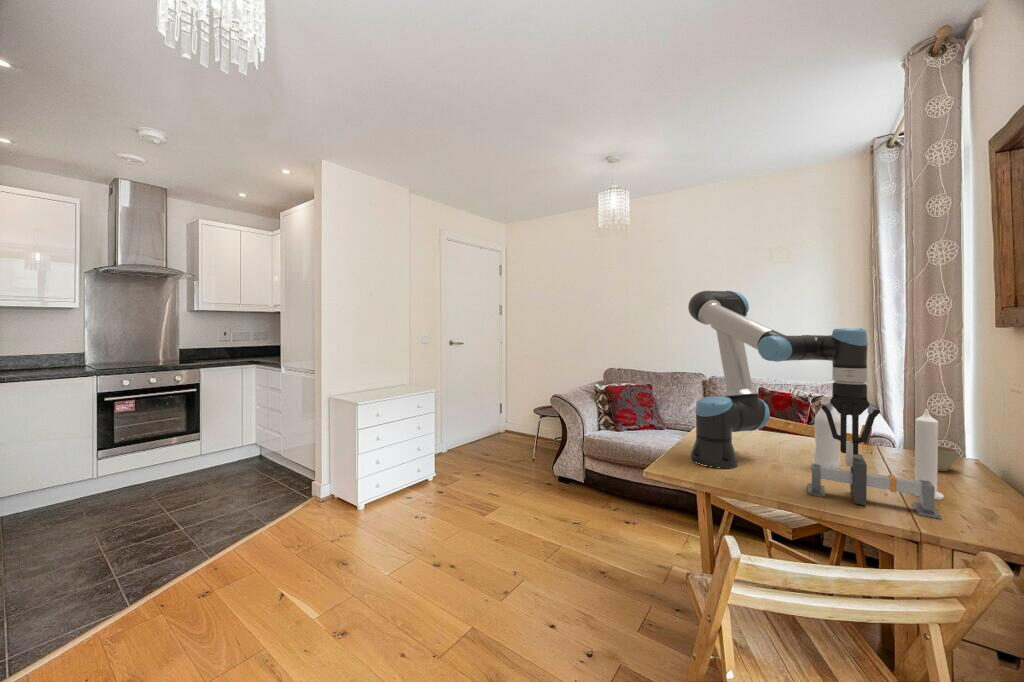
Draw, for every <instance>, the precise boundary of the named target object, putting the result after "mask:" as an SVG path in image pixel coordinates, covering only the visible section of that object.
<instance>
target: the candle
mask: <svg viewBox="0 0 1024 682" xmlns="http://www.w3.org/2000/svg"><path fill="white" fill-rule="evenodd" d="M914 427H915V429H914V430H915V431H914V432H915V435H914V436H915V437H914V440H915V442H914V480H918V481H919V480H925V481H930V482H931V484H932V485H933V486H934V487H935V489H934V500H937V501H938V500H943V499H944V496H945V495H944V494H943V493H941V492H938V471H937V465H938V446H939V421H938V420H937V419H935V418H934V417H932V416H931V414H930V411H929V409H928V408H925V410H924V412H923V414H922V415H921V416H919V417H917V418H915V426H914ZM912 495H914V496H916V497H919V495H916V494H912Z"/></svg>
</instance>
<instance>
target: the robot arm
mask: <svg viewBox="0 0 1024 682" xmlns="http://www.w3.org/2000/svg"><path fill="white" fill-rule="evenodd" d="M749 307H750V306H749V302H748V299H747V298H746V296H745V295H744V294H742V293H741V292H738V291H732V290H702V291H700V292H697V293H695V294H694V295H693V296H692V297H691V298H690V300H689V302H688V308H687V309H688V313H689V314H690V316H691V317H692V318H693V319H694V320H696V321H697V322H699V323H701V324H703V325H707V326H708V325H710V326H711V328H712V329H713V330H714V331H715V332H716V337H717V342H718V349H719V354H720V359H721V365H722V370H723V375H724V382H725V388H726V392H725V393H724V394H723V396H722V395H721V396H719V395H718V396H717V395H716V396H705V397H702V398H699V400H697V402H696V406H695V407H696V408H695V423H696V424H695V426H696V427H695V435H696V436H695V441H694V445H693V447H692V449H691V452H690V460H691V459H692V460H693V461H695V462H697V463H700V464H703V465H707V466H712V467H720V468H719V469H723V468H726V469H731V468H730V467H734V468H736V467H738V456H737V454H736V450H735V449H734V445H733V440H732V439H733V433H738V432H754V431H756V430H761V429H763V428H765V426H766V425H767V424H768V422H769V420H770V415H771V413H770V412H771V411H770V407H769V405H768V403H766V402H765V401H764V400H763V399H761V398H760V394H759V392H758V391H756V390H755V389H754V388H753V383H752V379H751V374H750V368H749V362H748V358H747V352H746V346H745V344H746V345H747V346H749V347H752V348H753V349H755V350H757V351H758V354H759V355H760V357H761V358H762V359H763V360H766V361H767V362H768V361H769V362H787V361H790V362H791V361H817V360H818V361H829V362H830V361H832V362H831V363H832V381H834V382H833V383H832V389H831V390H832V394H831V395H832V396H831V397H832V398H831V400H830V402H829V403H827V404H821V405H820V409H821V408H822V409H823V411H824V412H825V413H826V416H827V419H828V422H829V426H830V429H831V432H832V436H833V438H834V439H837V440H839V441H840V444H839V451H840V452H841V453H842V454H845V466H846V467H850V468H851V467H853V454H854V455H858V454H859V444H860V443H867V442H868V439H869V436H870V433H871V431H872V427H873V425H874V422H875V419H876V417H877V416H878V415H879V414H880V413H881V410H880V409H879V408H877V407H876V408H875V407H874V406H872V405H871V404H870V402H869V401H868V385H867V384H866V383H867V382H868V364H867V363H868V346H869V342H868V335H867V334H868V333H867V330H866V329H864V328H858V327H857V328H834V329H833V330H832V334H831V335H825V334H824V335H823V334H821V335H817V334H815V335H814V334H813V335H812V334H803V335H786V334H784V333H781V332H778V331H777V330H774V329H772V328H770V327H769V326H765V325H764V324H761V323H759V322H757V321H755V320H753V319H750V318H748V317H747V316H748V312H749V309H750V308H749ZM832 406H833V407H834V409H835V411H836V412H837V413H838V414H840V415H839V418H840V435H838V434H837V431H836V428H835V424H834V421H833V418H832V415H831V412H830V411H831V410H832V408H831V407H832ZM866 410H867V414H868V415H867V417H866V421H865V423H864V426H863V429H862V432H861V435H860V436H859V430H860V429H859V427H860V426H859V425H860V423H859V419H860V417H859V416H861V415H862V414H863V413H864V412H865V411H866ZM847 416H851V425H852V426H851V440H852V441H849V440H847V427H848V426H847V424H848V422H847V419H848V418H847ZM692 460H691V461H692ZM693 461H692V462H693ZM735 466H736V467H735ZM712 467H711V468H712Z"/></svg>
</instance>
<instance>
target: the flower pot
mask: <svg viewBox="0 0 1024 682" xmlns="http://www.w3.org/2000/svg"><path fill="white" fill-rule="evenodd" d="M958 455H959V451H958V450H957V449H955V448H952V447H949V446H943V445H938V465H937V472H948V470H950V469H951V468H952V466H953V465H954V464H955V462H956V460H957V458H958Z"/></svg>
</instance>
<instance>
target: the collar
mask: <svg viewBox="0 0 1024 682" xmlns="http://www.w3.org/2000/svg"><path fill="white" fill-rule="evenodd" d="M867 467H868V466H867V462H866V461H865V458H864V456H863V454H860V453H858V455H854V454H853V467H851V466H850V470H853V484H850V483H849V484H850V488H849V490H850V494H851V497H852V501H853V504H856V505H857V504H858V505H862V506H867V487H868V486H867V473H868V472H867V470H868V469H867Z"/></svg>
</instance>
